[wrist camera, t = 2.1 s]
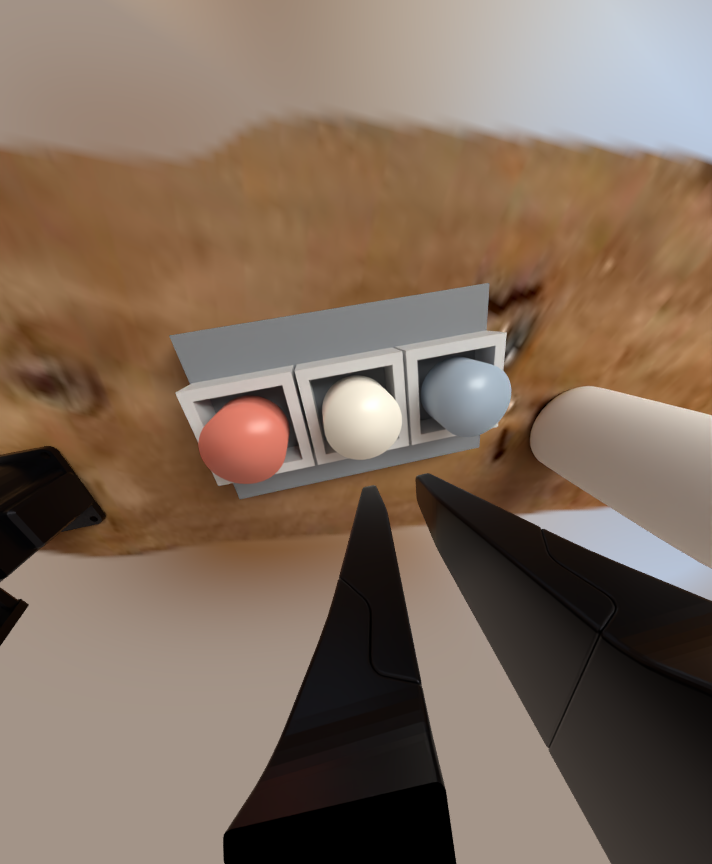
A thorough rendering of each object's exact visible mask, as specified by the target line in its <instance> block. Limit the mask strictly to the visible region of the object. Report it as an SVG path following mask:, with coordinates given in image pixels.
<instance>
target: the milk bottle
mask: <svg viewBox="0 0 712 864" xmlns="http://www.w3.org/2000/svg"><path fill="white" fill-rule="evenodd" d="M530 447H531V449H532V452H533V454H534V456H535V457H536V458H537V460H538V461H540V462H541V463H542V464H544V465H545V466H547V467H548V468H550V469H551V470H553V471H554V472H556V473H557V474H559V475H561V476H562V477H564V478H565V479H567V480H568V481H570V482H571V483H573V484H575V485H576V486H578V487H579V488H581V489H582V490H584V491H586V492H587V493H589V494H590V495H592V496H593V497H595V498H596V499H598V500H600V501H601V502H603V503H604V504H606V505H607V506H609V507H611V508H612V509H614V510H615V511H617V512H619V513H620V514H622V515H623V516H625V517H627V518H628V519H630V520H631V521H633V522H634V523H636V524H638V525H639V526H641V527H642V528H644V529H646V530H647V531H649V532H650V533H652V534H653V535H655V536H657V537H658V538H660V539H662V540H663V541H665V542H667V543H669V544H670V545H671V546H673V547H675V548H677V549H678V550H680V551H682V552H683V553H685V554H687V555H688V556H690V557H692V558H693V559H695V560H697V561H698V562H700V563H702V564H704V565H706V566H708V567H710V568H712V415H708V414H704V413H700V412H696V411H692V410H688V409H684V408H680V407H676V406H672V405H668V404H664V403H660V402H656V401H652V400H648V399H644V398H640V397H636V396H632V395H628V394H624V393H620V392H616V391H612V390H608V389H603V388H598V387H593V386H585V387H578V388H574V389H570V390H568V391H566V392H563V393H562V394H560V395H559V396H557V397H555V398H554V399H553V400H552V401H550V402H549V403H548V404H547V405H546V406H545V407H544V408H543V410H542V411H541V412H540V414H539V415H538V416H537V418H536V420H535V422H534V424H533V427H532V430H531V434H530Z"/></svg>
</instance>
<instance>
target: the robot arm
mask: <svg viewBox="0 0 712 864" xmlns="http://www.w3.org/2000/svg"><path fill="white" fill-rule="evenodd" d="M47 453H48V454H49V455H50V456H49V455H48V454H47ZM416 495H417V501H418V504H419V507H420V509H421V512H422V514H423V516H424V519H425V521H426V524H427V526H428V528H429V531H430V533H431V536H432V538H433V540H434V543H435V545H436V547H437V549H438V551H439V553H440V555H441V557H442V558H443V560H444V562H445V564H446V566H447V568H448V569H449V571H450V573H451V575H452V576H453V578H454V580H455V582H456V584H457V586H458V587H459V589H460V591H461V593H462V595H463V596H464V598H465V600H466V602H467V604H468V605H469V607H470V609H471V611H472V613H473V615H474V616H475V618H476V620H477V622H478V623H479V625H480V627H481V629H482V631H483V633H484V634H485V636H486V638H487V640H488V642H489V643H490V645H491V647H492V649H493V651H494V652H495V654H496V656H497V658H498V660H499V661H500V663H501V665H502V667H503V669H504V670H505V672H506V674H507V676H508V678H509V680H510V681H511V683H512V685H513V687H514V688H515V690H516V692H517V694H518V696H519V698H520V699H521V701H522V703H523V705H524V707H525V708H526V710H527V712H528V714H529V716H530V717H531V719H532V721H533V723H534V725H535V726H536V728H537V730H538V732H539V734H540V735H541V737H542V739H543V741H544V743H545V744H546V746H547V747H548V748H549V752H550V754H551V756H552V758H553V759H554V761H555V763H556V765H557V767H558V768H559V770H560V772H561V774H562V776H563V777H564V779H565V781H566V783H567V785H568V786H569V788H570V790H571V792H572V794H573V795H574V797H575V799H576V801H577V802H578V805H579V806H580V808H581V810H582V812H583V813H584V815H585V817H586V819H587V821H588V822H589V824H590V826H591V828H592V830H593V831H594V833H595V835H596V837H597V839H598V841H599V842H600V844H601V846H602V848H603V850H604V852H605V853H606V855H607V857H608V859H609V860H610V862H611V864H712V601H710V600H708V599H705V598H703V597H701V596H698V595H696V594H693V593H691V592H688V591H686V590H684V589H681V588H679V587H676V586H674V585H671V584H669V583H666V582H664V581H662V580H659V579H657V578H654V577H652V576H650V575H647V574H645V573H642V572H640V571H637V570H635V569H632V568H630V567H628V566H625V565H623V564H620V563H618V562H615V561H613V560H611V559H609V558H606V557H604V556H602V555H599V554H597V553H595V552H592V551H590V550H588V549H586V548H583V547H581V546H579V545H577V544H574V543H573V542H570V541H568V540H566V539H564V538H562V537H560V536H558V535H556V534H554V533H551V532H549V531H547V530H545V529H541V528H540V527H539V526H537V525H535V524H533V523H531V522H528V521H526V520H524V519H522V518H520V517H518V516H516V515H514V514H512V513H510V512H508V511H506V510H504V509H502V508H500V507H498V506H495V505H493V504H491V503H489V502H487V501H485V500H483V499H481V498H479V497H477V496H475V495H473V494H471V493H469V492H467V491H464V490H462V489H460V488H458V487H456V486H454V485H452V484H450V483H448V482H446V481H444V480H442V479H440V478H438V477H436V476H433V475H431V474H429V473H427V474H422V475H418V476H417V477H416ZM96 517H97V518H96ZM105 517H106V515H105V513H104V512H103V511H102V509H101V508H100V507H99V505H98V504H97V503H96V501H95V500H94V498H93V497H92V496H91V494H90V493H89V492H88V490H87V489H86V488H85V486H84V485H83V483H82V482H81V481H80V479H79V478H78V477H77V475H76V474H75V473H74V471H73V470H72V469H71V467H70V466H69V464H68V463H67V462H66V460H65V459H64V458H63V456H62V455H61V454H60V452H59V451H58V450H57V449H56V448H54V447H51V446H44V447H39V448H34V449H29V450H23V451H18V452H13V453H8V454H2V455H0V582H1V581H2V580H3V579H5V578H6V577H8V575H10V574H11V573H12V572H13V571H15V570H16V569H17V568H18V567H19V566H20V565H21V564H22V563H24V562H25V561H26V560H27V559H28V558H30V557H31V556H32V555H33V554H34V553H35V552H37V551H38V550H39V549H40V548H41V547H43V546H45V545H46V544H47V543H48V542H49V541H50V540H52V539H53V538H54V537H55V536H56V535H57V534H58V533H60V532H63V531H68V530H72V529H77V528H81V527H86V526H91V525H95V524H99V523H101V522H102V521H103V520H104V519H105ZM27 607H28V604H27V603H26V602H25V601H23V600H22V599H18V600H17V599H16V598H15V597H13V596H12V595H10V594H9V593H7V592H6V591H4V590H3V589H2V588H0V645H1V644H2V643H3V641H4V640H5V638H6V637H7V636H8V634H9V633H10V631H11V630H12V628H13V627H14V626H15V624H16V622H17V621H18V620H19V618H20V617H21V615H22V614H23V613H24V611H25V610H26V608H27ZM223 851H224V863H225V864H456V858H455V851H454V844H453V837H452V830H451V823H450V816H449V810H448V802H447V795H446V789H445V786H444V781H443V777H442V773H441V769H440V765H439V761H438V756H437V752H436V748H435V744H434V740H433V735H432V731H431V726H430V722H429V717H428V712H427V708H426V703H425V698H424V693H423V688H422V684H421V678H420V673H419V668H418V663H417V658H416V653H415V648H414V643H413V638H412V633H411V628H410V623H409V617H408V612H407V607H406V603H405V597H404V592H403V587H402V582H401V578H400V573H399V567H398V563H397V557H396V552H395V548H394V542H393V538H392V532H391V527H390V522H389V517H388V513H387V509H386V507H385V505H384V502H383V500H382V498H381V496H380V494H379V491H378V489H377V487H376V486H375V485H372V486H368V487H364V488H363V489H362V492H361V496H360V500H359V504H358V508H357V511H356V515H355V519H354V523H353V526H352V530H351V534H350V538H349V541H348V545H347V549H346V553H345V557H344V561H343V564H342V568H341V572H340V575H339V580H338V583H337V586H336V590H335V594H334V597H333V601H332V604H331V607H330V610H329V614H328V617H327V620H326V622H325V625H324V628H323V631H322V634H321V636H320V639H319V642H318V644H317V647H316V649H315V652H314V655H313V657H312V659H311V662H310V665H309V667H308V670H307V672H306V675H305V677H304V680H303V682H302V685H301V687H300V690H299V692H298V695H297V697H296V700H295V702H294V705H293V708H292V710H291V713H290V715H289V718H288V720H287V723H286V725H285V727H284V730H283V732H282V735H281V737H280V739H279V741H278V744H277V746H276V748H275V750H274V752H273V755H272V756H271V759H270V761H269V763H268V765H267V766H266V768H265V771H264V772H263V774H262V776H261V777H260V779H259V781H258V783H257V784H256V786H255V788H254V789H253V791H252V792H251V794H250V796H249V797H248V799H247V800H246V802H245V803H244V805H243V806H242V808H241V809H240V811H239V812H238V814H237V816H236V817H235V819H234V820H233V822H232V823H231V825H230V826H229V828H228V829H227V831H226V832H225V834H224V837H223Z"/></svg>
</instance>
